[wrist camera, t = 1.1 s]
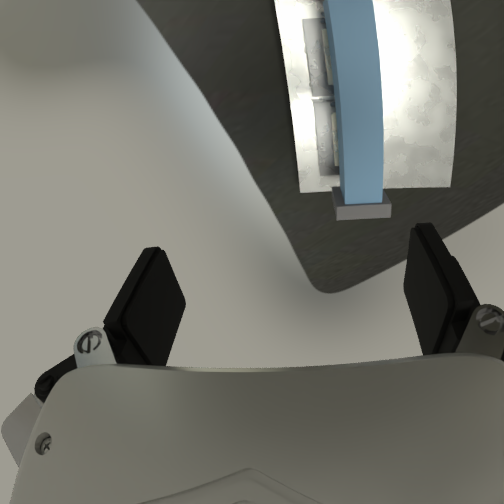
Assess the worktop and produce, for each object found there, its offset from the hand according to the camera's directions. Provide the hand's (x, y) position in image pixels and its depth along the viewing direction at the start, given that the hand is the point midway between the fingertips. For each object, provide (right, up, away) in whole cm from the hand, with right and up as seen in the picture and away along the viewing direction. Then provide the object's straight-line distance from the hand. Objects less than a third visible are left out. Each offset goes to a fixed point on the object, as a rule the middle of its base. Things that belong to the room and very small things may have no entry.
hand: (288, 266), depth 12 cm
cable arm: (+6, +13, +10) cm, 18 cm away
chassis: (+10, +16, +13) cm, 23 cm away
